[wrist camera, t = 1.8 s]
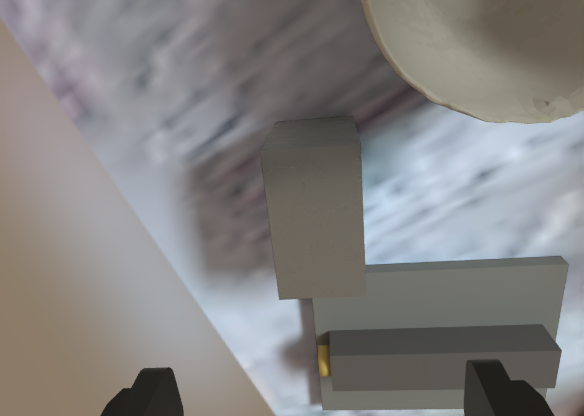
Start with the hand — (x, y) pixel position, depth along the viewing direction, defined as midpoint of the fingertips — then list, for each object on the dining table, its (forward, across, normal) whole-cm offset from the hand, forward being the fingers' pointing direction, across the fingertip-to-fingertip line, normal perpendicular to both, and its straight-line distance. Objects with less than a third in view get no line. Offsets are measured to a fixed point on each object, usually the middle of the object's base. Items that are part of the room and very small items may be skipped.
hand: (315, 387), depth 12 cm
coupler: (+16, -7, +12) cm, 21 cm away
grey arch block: (+16, 0, 0) cm, 16 cm away
